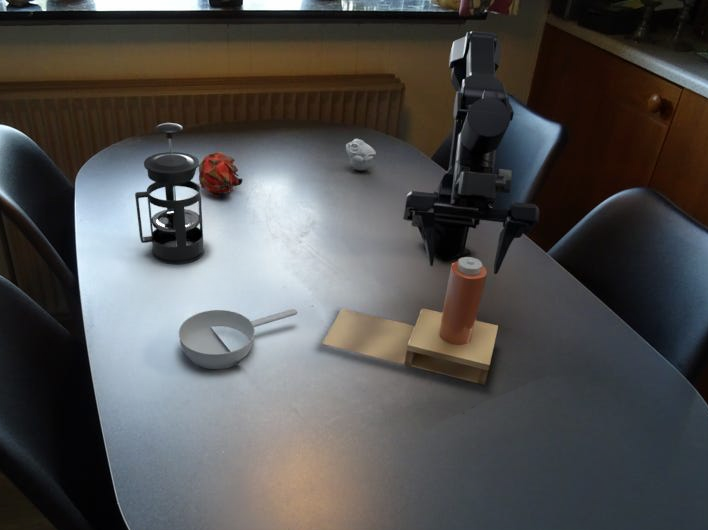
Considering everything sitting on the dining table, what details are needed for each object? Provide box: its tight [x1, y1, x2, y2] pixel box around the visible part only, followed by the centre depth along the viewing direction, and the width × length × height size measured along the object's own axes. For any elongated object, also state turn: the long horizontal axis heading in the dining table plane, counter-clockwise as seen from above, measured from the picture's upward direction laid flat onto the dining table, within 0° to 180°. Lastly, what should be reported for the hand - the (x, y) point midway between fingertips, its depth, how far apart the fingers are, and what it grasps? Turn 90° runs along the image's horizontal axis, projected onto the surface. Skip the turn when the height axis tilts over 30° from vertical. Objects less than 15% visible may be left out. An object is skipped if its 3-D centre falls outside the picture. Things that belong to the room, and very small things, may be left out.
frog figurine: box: [345, 138, 377, 171], centre depth 155 cm, size 6×7×7 cm
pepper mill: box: [439, 256, 488, 345], centre depth 94 cm, size 5×5×12 cm
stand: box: [322, 307, 499, 385], centre depth 100 cm, size 24×10×4 cm, turn 71°
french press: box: [134, 122, 206, 265], centre depth 114 cm, size 12×9×23 cm
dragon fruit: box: [197, 151, 244, 198], centre depth 141 cm, size 8×8×12 cm
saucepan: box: [178, 308, 298, 370], centre depth 99 cm, size 11×18×4 cm, turn 118°
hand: (463, 269), depth 97 cm, fingers open, 9 cm apart
